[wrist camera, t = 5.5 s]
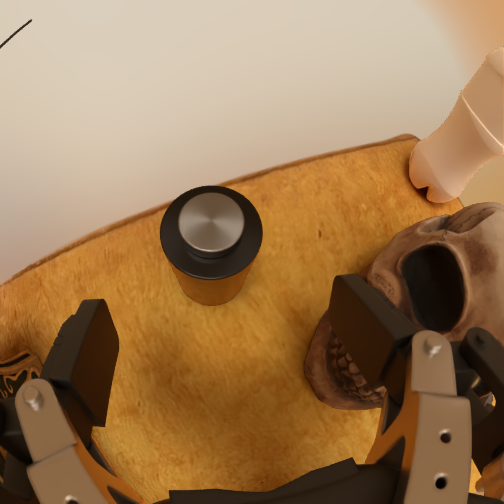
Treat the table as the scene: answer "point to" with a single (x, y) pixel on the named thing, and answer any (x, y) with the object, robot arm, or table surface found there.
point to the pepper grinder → (211, 242)
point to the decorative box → (16, 383)
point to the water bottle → (464, 135)
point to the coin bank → (423, 296)
